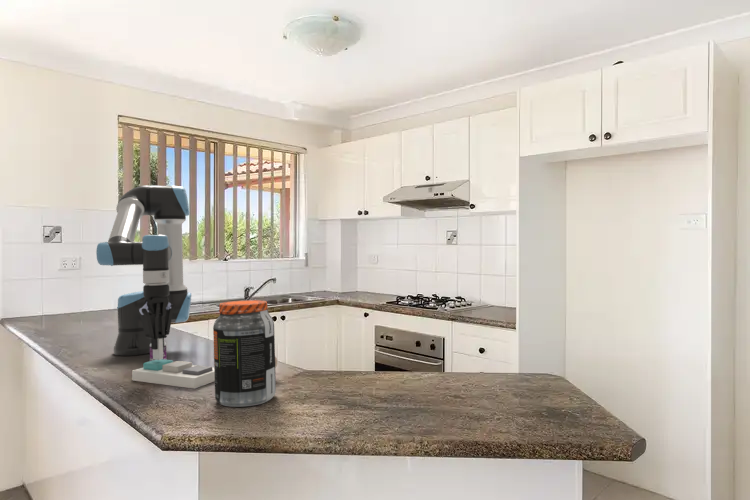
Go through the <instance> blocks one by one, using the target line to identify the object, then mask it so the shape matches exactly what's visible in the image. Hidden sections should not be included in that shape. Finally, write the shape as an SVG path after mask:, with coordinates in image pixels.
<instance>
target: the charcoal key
mask: <svg viewBox="0 0 750 500" xmlns="http://www.w3.org/2000/svg"><path fill="white" fill-rule="evenodd" d="M212 367H213V366H209V365H208V366H206V365H199V364H198V365H196V364H195V366H193V367H190V368H187V369H183V370H182V371H183V374H190V375H201V374H204V373H207V372H210V371H212Z"/></svg>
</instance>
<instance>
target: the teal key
mask: <svg viewBox="0 0 750 500" xmlns="http://www.w3.org/2000/svg"><path fill="white" fill-rule="evenodd" d="M172 362H174V360H172V359H167V360H165V359H161V360H153V361H150V360H149V361H146V362H143V363H142V364H143V365H142V366H143V367H144V369H147V370H155V371H159V370H162V369H163V365H165V364H168V363H172ZM143 367H142V368H143Z"/></svg>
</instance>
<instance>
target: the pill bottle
mask: <svg viewBox="0 0 750 500" xmlns="http://www.w3.org/2000/svg"><path fill="white" fill-rule="evenodd" d="M167 357H168V355H167V342H166V341H164V348H163V359H165V360H168V359H167ZM153 360H154V359H153V349H152V348H151V344H150V353H149V361H153Z"/></svg>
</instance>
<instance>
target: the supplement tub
mask: <svg viewBox="0 0 750 500" xmlns="http://www.w3.org/2000/svg"><path fill="white" fill-rule="evenodd" d="M218 311H219V315H218V317H217V318H216V319H215V320H214V323H213V327H212V328H213V331H212V333H213V367H214V371H215V372H214V373H215V381H214V396H215V400H216V401H217V403H218V404H219V405H221V406H225V407H233V408H236V407H238V408H239V407H241V408H242V407H251V406H253V407H254V406H258V405H262V404H264V403H267V402H269V401H271V399H273V397H274V396H275V395H276V389H277V387H276V385H277V384H276V383H277V382H276V368H275V357H276V346H275V345H276V343H275V337H276V336H275V321H274V318H273V317H272V316H271V315H270V313H269V307H268V302H267V301H266V300H258V299H254V300H253V299H251V300H246V299H245V300H234V301H233V300H232V301H225V302H220V303H219V309H218Z"/></svg>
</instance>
